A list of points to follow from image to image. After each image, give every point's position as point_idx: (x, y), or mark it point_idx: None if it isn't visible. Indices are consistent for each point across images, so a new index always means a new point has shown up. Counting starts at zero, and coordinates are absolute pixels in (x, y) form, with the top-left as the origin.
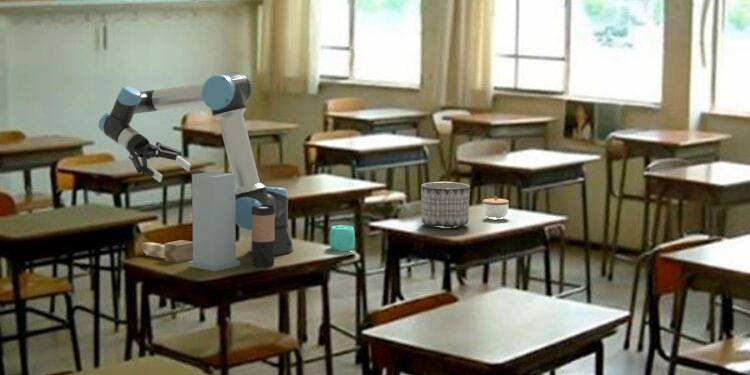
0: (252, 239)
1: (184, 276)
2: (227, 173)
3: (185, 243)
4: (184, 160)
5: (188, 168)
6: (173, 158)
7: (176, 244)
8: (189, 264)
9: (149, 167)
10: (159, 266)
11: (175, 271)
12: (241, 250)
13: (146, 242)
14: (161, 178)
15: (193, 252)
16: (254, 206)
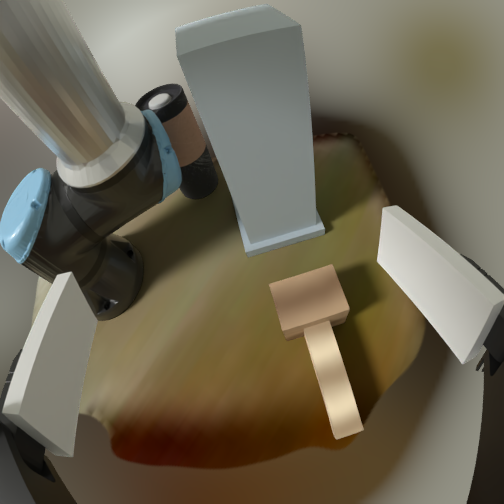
0: (203, 148)
1: (364, 171)
2: (181, 31)
3: (299, 276)
4: (38, 325)
5: (85, 302)
6: (52, 484)
7: (327, 277)
8: (324, 230)
9: (492, 284)
10: (381, 267)
11: (366, 209)
12: (137, 323)
13: (347, 433)
14: (385, 231)
15: (315, 211)
16: (160, 109)
